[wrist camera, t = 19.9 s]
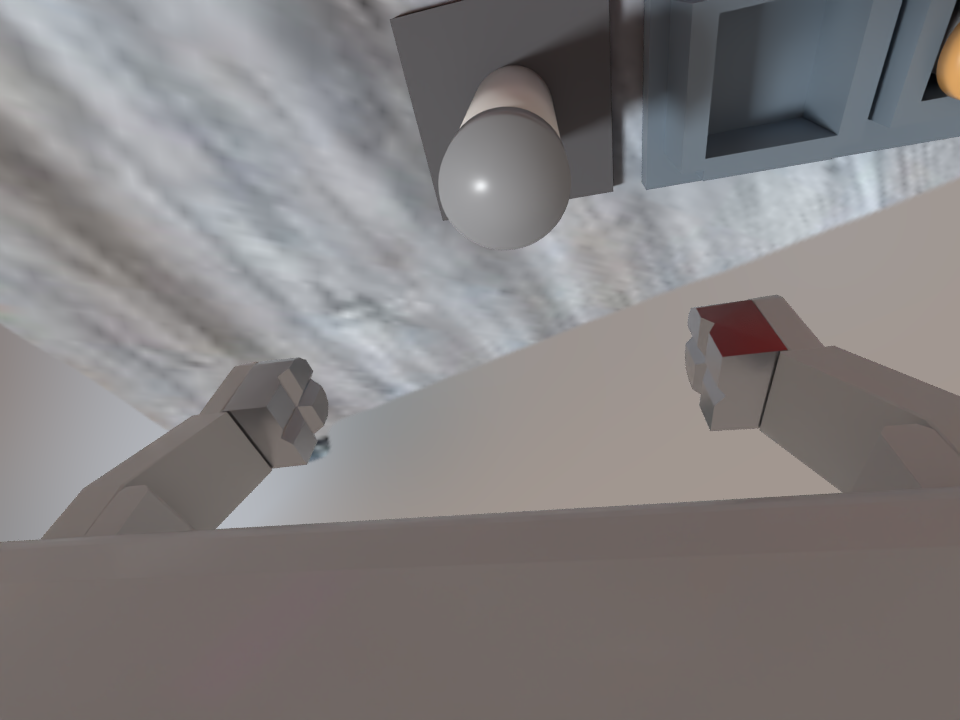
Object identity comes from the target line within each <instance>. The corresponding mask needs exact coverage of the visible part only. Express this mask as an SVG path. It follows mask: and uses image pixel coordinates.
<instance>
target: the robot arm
mask: <svg viewBox="0 0 960 720" xmlns="http://www.w3.org/2000/svg"><path fill="white" fill-rule="evenodd" d="M688 328H689V330H690V332H691V334H692V338H691V339H690V340H689V341H688V342H687V343H686V350H685V361H686V362H685V363H686V371H687V375H688V379H689V382H690V384H691V387H692V389H693V390H695V391H696V392H698V393H700V394H701V397H700V404H699V405H700V408H701V410H702V413H703V415H704V417H705V420H706V422H707V424H708V426H709V429H710V431H719V430H736V429H754V428H760V431H761V432H763V433H764V434H765V435H767V436H768V437H769V438H771V439H772V440H773V441H775V442H776V443H777V444H779V445H780V446H781V447H783V448H784V449H785V450H787V451H788V452H789V453H791V454H792V455H793V456H795V457H796V458H797V459H799V460H800V461H801V462H803V463H804V464H805V465H807V466H808V467H809V468H811V469H812V470H813V471H815V472H816V473H817V474H819V475H820V476H821V477H823V478H824V479H825V480H827V481H828V482H829V483H831V484H832V485H833V486H835V487H836V488H838V489H839V490H840V491H841V492H843V493H834V494H818V495H799V496H782V497H764V498H747V499H731V500H714V501H697V502H680V503H679V502H678V503H661V504H643V505H626V506H609V507H594V508H593V507H592V508H574V509H557V510H540V511H523V512H505V513H489V514H472V515H455V516H438V517H420V518H403V519H385V520H369V521H352V522H333V523H316V524H300V525H282V526H264V527H249V528H248V527H247V528H230V529H216V528H217V527H218V526H219V525H220V524H221V523H222V522H223V521H224V520H225V518H227V517H228V515H229V514H230V513H231V512H232V511H233V510H234V509H235V508H236V507H237V506H238V505H239V504H240V503H241V502H242V501H243V500H244V499H245V498H246V497H247V496H248V495H249V494H250V493H251V492H252V491H253V490H254V489H255V488H256V487H257V486H258V484H259V483H261V481H262V480H263V479H264V478H265V477H266V476H267V475H268V474H269V473H270V472H271V471H272V468H280V467H289V466H298V465H307V463H308V461H309V459H310V456H311V454H312V452H313V450H314V447H315V445H316V443H317V439H316V437H315V433H316V432H317V431H318V430H319V429H320V428H322V427H323V426H324V424H325V421H326V419H327V416H328V400H327V396H326V393H325V391H324V390H323V388H322V386H321V385H319V384H318V383H316V382H315V381H313V380H312V379H311V377H312V373H313V370H312V369H311V367H310V365H309V364H308V362H307V361H306V360H305V359H302V358H290V359H281V360H271V361H262V362H253V363H246V364H240V365H238V366H235V367H234V368H233V369H232V370H231V372H230V373H229V375H228V376H227V377H226V379H225V380H224V381H223V383H222V384H221V385H220V387H219V388H218V389H217V391H216V392H215V394H214V395H213V396H212V398H211V399H210V400H209V402H208V403H207V404H206V406H205V407H204V409H203V410H202V411H201V413H200V414H199V415H194V416H191V417H190V418H188V419H187V420H185V421H184V422H182V423H181V424H179V425H178V426H176V427H175V428H173V429H172V430H170V431H169V432H167V433H166V434H164V435H163V436H161V437H160V438H158V439H157V440H155V441H154V442H152V443H151V444H149V445H148V446H146V447H145V448H143V449H142V450H140V451H139V452H137V453H136V454H134V455H133V456H131V457H130V458H128V459H127V460H125V461H124V462H122V463H121V464H119V465H118V466H116V467H115V468H113V469H112V470H110V471H109V472H107V473H106V474H104V475H103V476H101V477H100V478H98V479H97V480H95V481H94V482H92V483H91V484H89V485H88V486H86V487H85V488H84V489H83V490H82V491H81V492H80V493H79V494H78V496H77V497H76V498H75V499H74V500H73V501H72V503H71V504H70V505H69V506H68V507H67V509H66V510H65V511H64V512H63V513H62V514H61V516H60V517H59V518H58V519H57V520H56V522H55V523H54V524H53V525H52V526H51V527H50V529H49V530H48V531H47V532H46V534H45V535H44V536H43V537H42V538H41V539H40V540H26V541H25V540H24V541H7V542H0V720H960V396H958V395H955V394H953V393H950V392H948V391H945V390H943V389H940V388H938V387H935V386H933V385H930V384H928V383H925V382H923V381H920V380H918V379H915V378H913V377H910V376H908V375H906V374H903V373H900V372H898V371H896V370H893V369H890V368H888V367H886V366H883V365H881V364H878V363H876V362H873V361H871V360H868V359H866V358H863V357H861V356H858V355H856V354H853V353H851V352H848V351H846V350H843V349H841V348H838V347H836V346H828V347H824V346H823V344H822V343H821V342H820V341H819V340H818V338H817V337H816V336H815V335H814V334H813V333H812V331H811V330H810V329H809V328H808V327H807V325H806V324H805V323H804V322H803V321H802V320H801V318H800V317H799V316H798V315H797V314H796V312H795V311H794V310H793V309H792V308H791V306H790V305H789V304H788V303H787V302H786V301H785V299H784V298H783V297H781V296H779V295H773V296H766V297H760V298H753V299H748V300H745V301H737V302H730V303H723V304H716V305H709V306H701V307H694V308H691V310H690V313H689V317H688Z"/></svg>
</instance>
